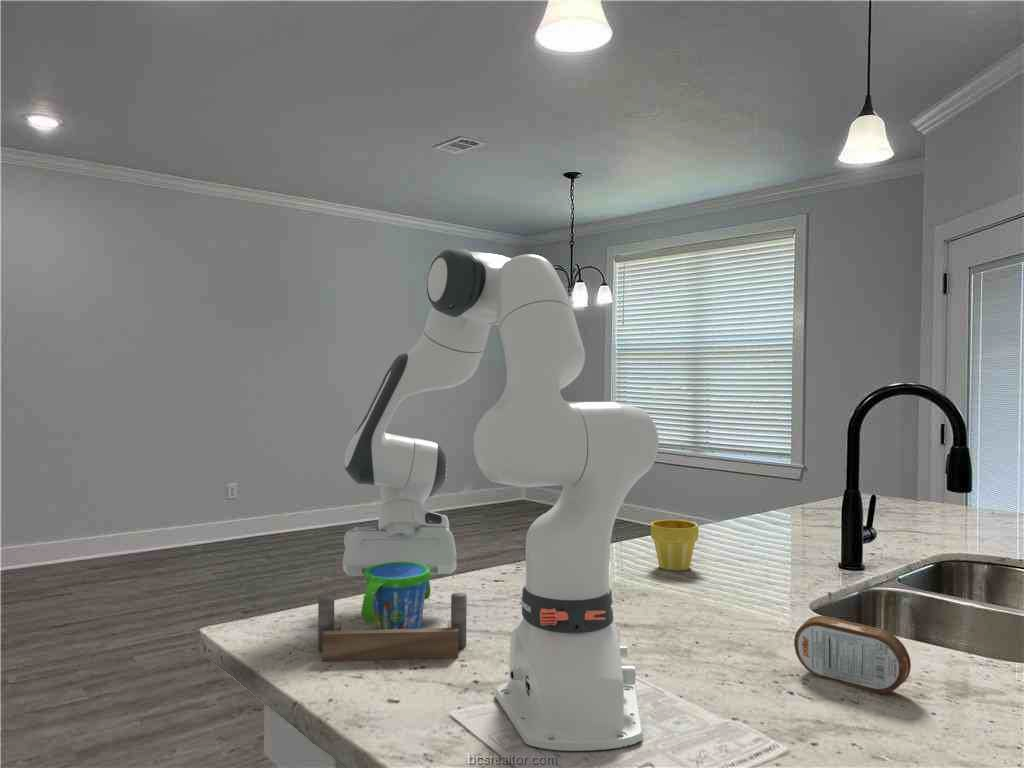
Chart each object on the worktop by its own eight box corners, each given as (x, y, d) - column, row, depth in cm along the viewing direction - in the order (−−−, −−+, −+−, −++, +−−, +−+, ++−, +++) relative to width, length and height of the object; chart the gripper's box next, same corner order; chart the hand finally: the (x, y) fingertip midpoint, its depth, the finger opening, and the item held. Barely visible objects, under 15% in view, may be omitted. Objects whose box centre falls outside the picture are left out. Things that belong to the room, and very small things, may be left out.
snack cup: (386, 651, 117) (387, 585, 117) (339, 637, 123) (340, 574, 123) (452, 624, 130) (452, 564, 130) (406, 612, 136) (407, 555, 136)
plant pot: (646, 571, 166) (647, 526, 166) (653, 560, 176) (654, 517, 176) (695, 575, 163) (696, 529, 163) (699, 564, 173) (700, 520, 173)
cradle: (467, 657, 115) (467, 604, 115) (312, 661, 113) (313, 607, 113) (465, 635, 125) (465, 586, 125) (322, 638, 123) (323, 588, 122)
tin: (911, 695, 103) (911, 633, 102) (904, 703, 100) (905, 639, 100) (799, 666, 113) (800, 609, 112) (791, 672, 110) (791, 614, 110)
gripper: (343, 517, 139) (336, 586, 130) (456, 516, 141) (457, 583, 132) (346, 536, 144) (339, 604, 134) (455, 535, 146) (456, 601, 136)
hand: (398, 594), depth 133 cm, fingers closed
